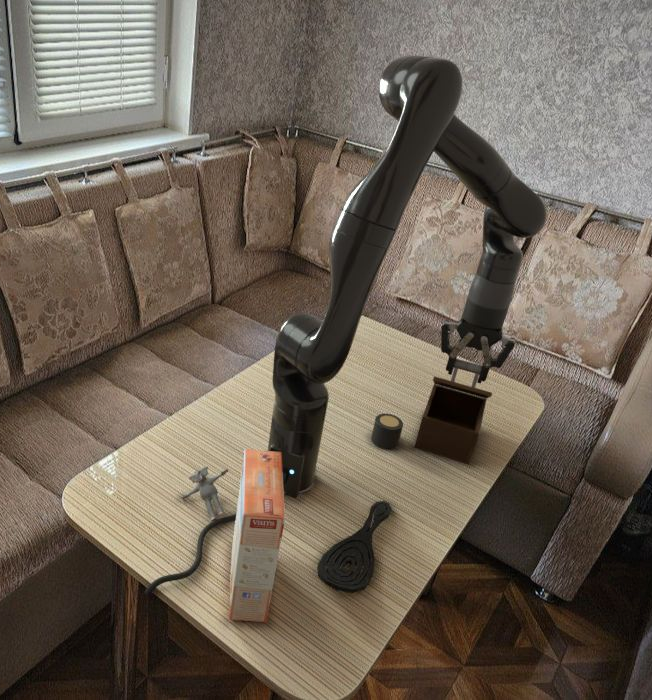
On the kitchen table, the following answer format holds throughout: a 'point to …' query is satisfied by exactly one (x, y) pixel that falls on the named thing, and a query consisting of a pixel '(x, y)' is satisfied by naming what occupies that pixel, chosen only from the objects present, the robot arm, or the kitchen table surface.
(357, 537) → the hairbrush
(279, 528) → the cracker box
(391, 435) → the dark grey short cylinder
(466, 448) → the box
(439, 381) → the lid
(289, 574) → the kitchen table surface
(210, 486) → the elephant figurine
